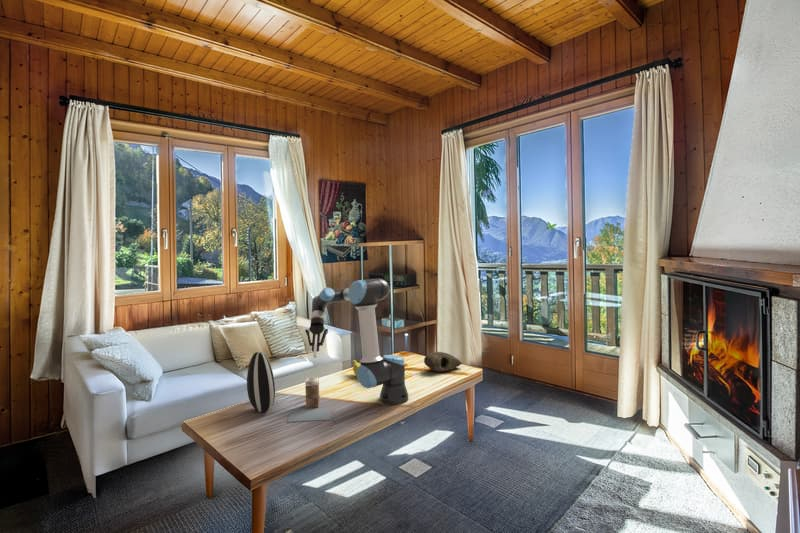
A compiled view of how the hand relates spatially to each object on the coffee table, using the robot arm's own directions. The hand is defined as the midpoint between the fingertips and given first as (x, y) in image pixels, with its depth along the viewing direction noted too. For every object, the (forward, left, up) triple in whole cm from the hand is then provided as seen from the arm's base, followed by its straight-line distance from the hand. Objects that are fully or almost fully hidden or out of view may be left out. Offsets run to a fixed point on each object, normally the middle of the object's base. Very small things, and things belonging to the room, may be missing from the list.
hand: (314, 356), depth 225 cm
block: (0, +15, -22) cm, 26 cm away
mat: (0, +25, -22) cm, 33 cm away
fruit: (-27, -25, -22) cm, 43 cm away
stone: (-76, -35, -22) cm, 87 cm away
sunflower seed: (+25, +17, -22) cm, 38 cm away
